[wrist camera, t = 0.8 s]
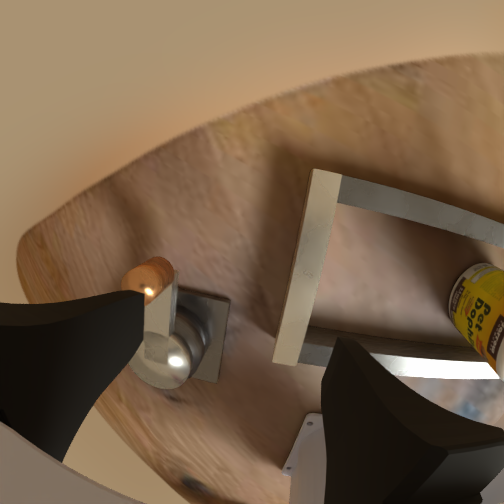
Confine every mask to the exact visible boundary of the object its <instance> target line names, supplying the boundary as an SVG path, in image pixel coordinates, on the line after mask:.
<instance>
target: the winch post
mask: <svg viewBox="0 0 504 504" xmlns="http://www.w3.org/2000/svg"><path fill="white" fill-rule="evenodd" d="M230 302H231V300H229V299H225V298H220V297H216V296H211V295H207V294H202V293H198V292H194V291H190V290H185V289H181V288H178V291H177V303H176V316H175V330H174V331H175V332H177V333H178V334H179V335H180V336H181V337H182V338H183V339H184V340H185V341H186V342H187V344H188V345H189V347H190V349H191V351H192V354H193V367H192V370H191V372H190V374H189V376H188V377H187V379H188V378H190V377H193V378H197V379H200V380H204V381H208V382H212V383H216V384H217V382H218V380H219V373H220V367H221V360H222V353H223V347H224V340H225V334H226V327H227V321H228V314H229V308H230ZM144 320H145V306H144Z"/></svg>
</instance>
